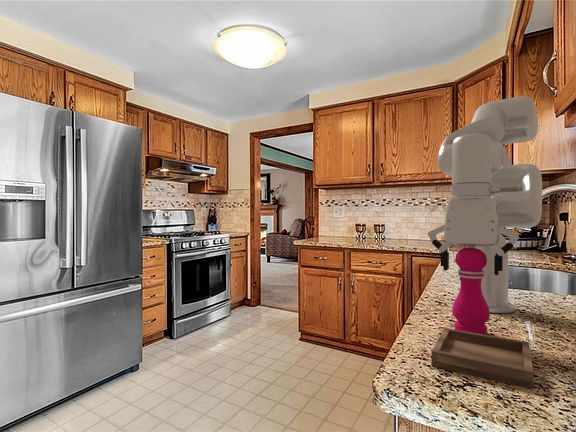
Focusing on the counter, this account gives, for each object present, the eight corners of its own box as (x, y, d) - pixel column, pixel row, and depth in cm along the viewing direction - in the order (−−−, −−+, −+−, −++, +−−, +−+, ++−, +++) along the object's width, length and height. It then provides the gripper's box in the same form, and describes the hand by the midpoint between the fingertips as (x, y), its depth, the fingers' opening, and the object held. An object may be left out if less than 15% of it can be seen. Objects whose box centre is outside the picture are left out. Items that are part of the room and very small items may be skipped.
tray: (444, 340, 69) (444, 327, 69) (528, 355, 61) (528, 342, 61) (431, 365, 57) (431, 351, 57) (533, 389, 50) (533, 372, 50)
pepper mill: (491, 330, 75) (491, 240, 74) (488, 341, 69) (489, 242, 68) (454, 324, 79) (455, 238, 78) (449, 334, 73) (449, 240, 73)
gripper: (518, 192, 72) (518, 273, 72) (431, 195, 81) (431, 266, 81) (519, 190, 65) (519, 278, 65) (425, 192, 75) (424, 270, 75)
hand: (470, 272), depth 73 cm, fingers open, 9 cm apart
